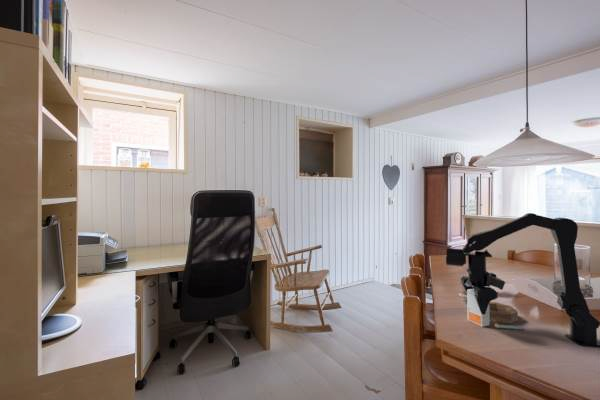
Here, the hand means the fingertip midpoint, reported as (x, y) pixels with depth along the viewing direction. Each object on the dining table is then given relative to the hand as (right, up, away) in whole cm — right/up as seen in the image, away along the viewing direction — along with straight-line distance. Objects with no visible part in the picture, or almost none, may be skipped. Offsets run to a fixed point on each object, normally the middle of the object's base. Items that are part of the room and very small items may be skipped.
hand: (478, 309), depth 105 cm
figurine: (+25, -5, +34) cm, 42 cm away
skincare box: (0, -5, 0) cm, 5 cm away
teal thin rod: (+8, -5, -5) cm, 11 cm away
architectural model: (+10, -6, +22) cm, 25 cm away
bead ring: (+11, -5, +6) cm, 13 cm away
